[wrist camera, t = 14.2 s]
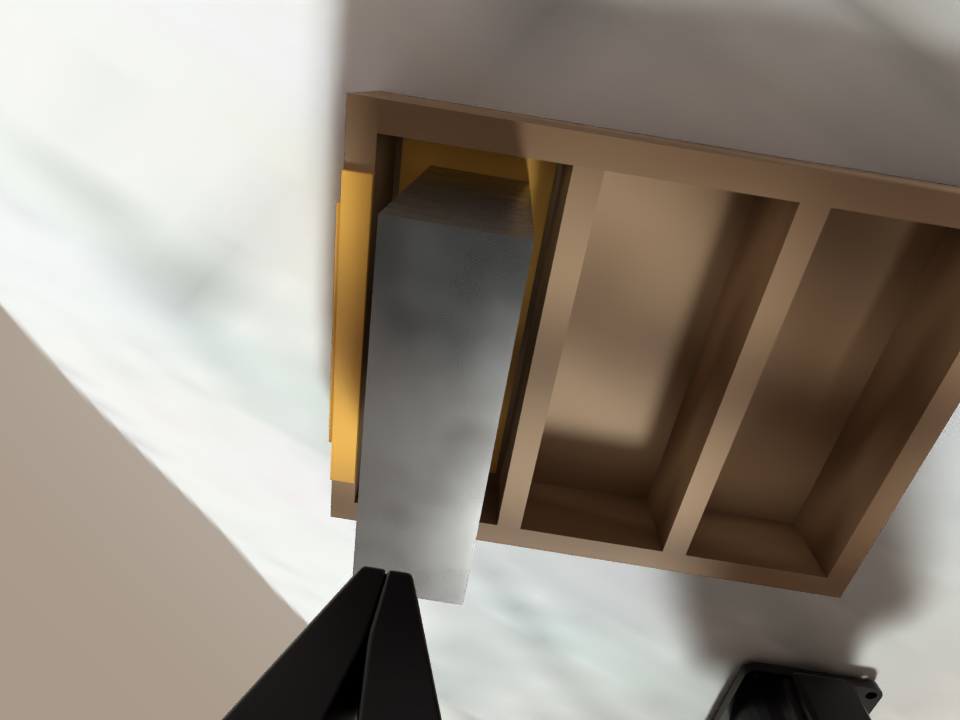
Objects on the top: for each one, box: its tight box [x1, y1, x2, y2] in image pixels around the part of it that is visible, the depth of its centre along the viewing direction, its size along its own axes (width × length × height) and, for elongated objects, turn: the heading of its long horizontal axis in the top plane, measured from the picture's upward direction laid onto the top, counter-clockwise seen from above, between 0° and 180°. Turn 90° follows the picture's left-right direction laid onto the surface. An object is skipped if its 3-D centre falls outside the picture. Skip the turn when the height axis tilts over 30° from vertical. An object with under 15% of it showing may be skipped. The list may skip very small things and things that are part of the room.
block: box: [353, 165, 535, 605], centre depth 16 cm, size 10×3×7 cm, turn 171°
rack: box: [329, 91, 960, 598], centre depth 18 cm, size 14×18×4 cm
